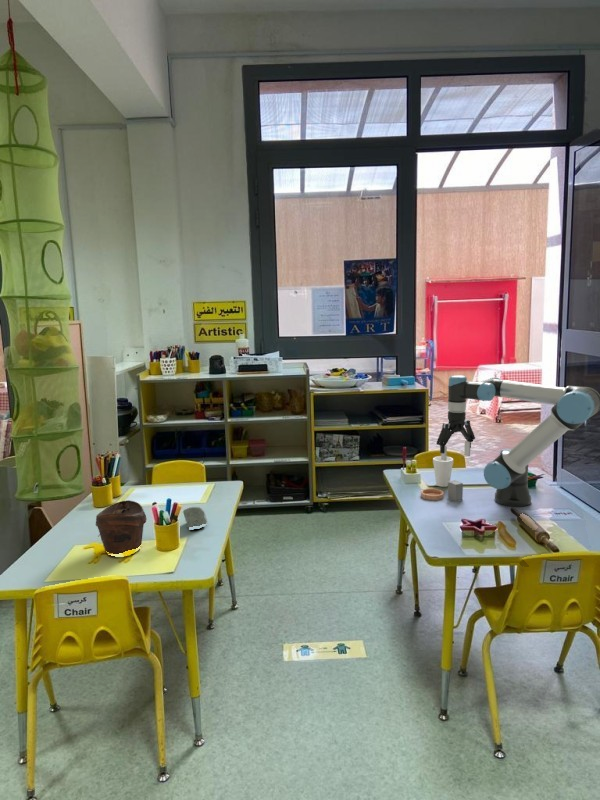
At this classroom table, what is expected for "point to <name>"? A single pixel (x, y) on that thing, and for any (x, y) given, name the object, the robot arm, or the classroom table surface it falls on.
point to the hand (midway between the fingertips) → (455, 457)
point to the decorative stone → (195, 516)
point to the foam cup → (442, 470)
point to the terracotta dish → (432, 494)
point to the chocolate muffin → (121, 526)
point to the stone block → (455, 491)
